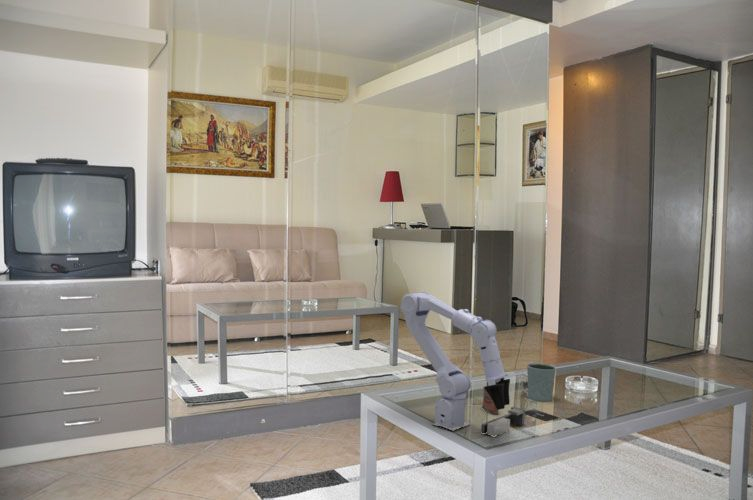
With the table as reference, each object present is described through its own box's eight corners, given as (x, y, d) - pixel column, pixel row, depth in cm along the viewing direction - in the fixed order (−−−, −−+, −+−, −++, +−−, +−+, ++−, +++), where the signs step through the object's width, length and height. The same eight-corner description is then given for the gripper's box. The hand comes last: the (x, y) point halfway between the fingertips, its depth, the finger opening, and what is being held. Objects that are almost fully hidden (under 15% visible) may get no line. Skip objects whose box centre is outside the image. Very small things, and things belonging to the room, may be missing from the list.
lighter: (479, 408, 208) (481, 379, 207) (488, 407, 209) (490, 378, 208) (492, 415, 200) (494, 385, 200) (501, 414, 201) (503, 385, 201)
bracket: (493, 437, 178) (494, 421, 178) (481, 434, 181) (482, 418, 181) (524, 424, 192) (525, 409, 192) (512, 421, 195) (513, 406, 195)
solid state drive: (545, 422, 197) (545, 420, 197) (520, 413, 205) (521, 411, 205) (558, 419, 201) (558, 417, 201) (533, 410, 209) (534, 408, 209)
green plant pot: (554, 403, 218) (556, 370, 217) (525, 400, 220) (527, 367, 219) (552, 396, 228) (554, 364, 227) (524, 393, 230) (526, 361, 229)
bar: (493, 437, 179) (494, 425, 179) (486, 435, 180) (487, 423, 180) (509, 430, 185) (510, 419, 185) (502, 428, 187) (503, 417, 187)
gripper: (499, 360, 172) (512, 408, 169) (509, 356, 185) (521, 400, 183) (475, 365, 174) (488, 413, 172) (486, 361, 188) (498, 405, 185)
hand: (503, 407), depth 177 cm, fingers open, 7 cm apart
